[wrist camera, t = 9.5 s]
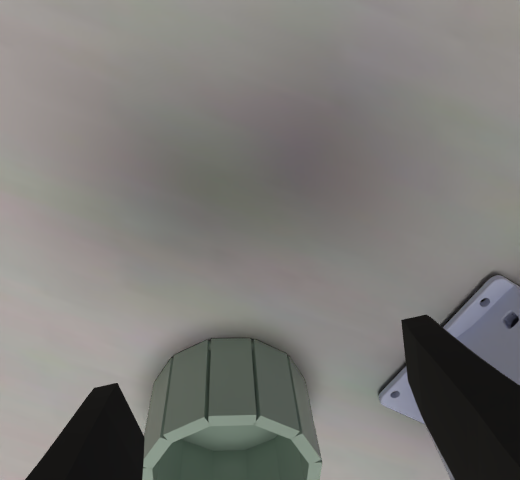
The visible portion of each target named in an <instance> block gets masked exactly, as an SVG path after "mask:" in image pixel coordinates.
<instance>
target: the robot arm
mask: <svg viewBox="0 0 520 480" xmlns="http://www.w3.org/2000/svg"><path fill="white" fill-rule="evenodd" d="M484 298H486V299H485V300H484V301H483V302H480V301H481V300H482V299H484ZM401 321H402V330H403V339H404V349H405V358H406V366H405V368H404V369H403V370H402V371H401V372H400V373H399V374H398V375H397V376H396V377H395V378H394V379H393V380H392V381H391V382H390V383H389V384H388V385H387V386H386V387H385V388H384V389H383V391H382V392H381V393H380V394H379V400H380V402H381V404H382V405H383V406H385V407H388V408H390V409H392V410H394V411H396V412H399V413H401V414H403V415H405V416H408V417H410V418H412V419H414V420H416V421H419V422H421V423H423V424H425V425H426V427H427V429H428V432H429V434H430V436H431V438H432V440H433V442H434V444H435V447H436V449H437V451H438V453H439V455H440V457H441V460H442V462H443V464H444V466H445V468H446V470H447V472H448V475H449V477H450V479H451V480H520V286H518V285H516V284H515V283H513V282H511V281H510V280H508V279H507V278H505V277H503V276H500V275H496V276H493V277H491V278H490V279H489V280H488V281H487V282H486V283H485V284H484V285H483V286H482V287H481V288H480V289H479V290H478V291H477V292H476V293H475V294H474V295H473V296H472V297H471V298H470V300H469V301H468V302H467V303H466V304H465V305H464V306H463V307H462V308H461V309H460V310H459V311H458V312H457V313H456V314H455V315H454V316H453V317H452V318H451V319H450V320H449V321H448V323H447V324H446V325H445V326H444V327H442V326H440V325H439V324H438V323H437V322H436V321H434V320H433V319H432V318H431V317H429V316H428V315H422V316H418V317H413V318H409V319H404V320H401ZM393 391H396V392H394V393H392V392H393ZM144 441H145V438H144V436H143V434H142V432H141V430H140V428H139V426H138V424H137V421H136V419H135V417H134V415H133V413H132V411H131V409H130V407H129V405H128V403H127V401H126V399H125V397H124V395H123V393H122V391H121V389H120V387H119V385H118V383H115V384H110V385H106V386H101V387H97V388H94V389H93V390H92V391H91V393H90V394H89V395H88V397H87V398H86V399H85V401H84V402H83V403H82V405H81V406H80V407H79V409H78V410H77V412H76V413H75V414H74V416H73V417H72V418H71V420H70V421H69V423H68V424H67V425H66V427H65V428H64V429H63V431H62V432H61V434H60V435H59V436H58V438H57V439H56V440H55V442H54V443H53V444H52V446H51V447H50V448H49V450H48V451H47V452H46V454H45V455H44V456H43V458H42V459H41V460H40V462H39V463H38V464H37V466H36V467H35V468H34V469H33V470H32V472H31V473H30V474H29V475H28V477H27V478H26V479H25V480H142V476H143V462H144Z"/></svg>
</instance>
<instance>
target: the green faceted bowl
mask: <svg viewBox="0 0 520 480" xmlns="http://www.w3.org/2000/svg"><path fill="white" fill-rule="evenodd" d="M144 438H145V441H144V462H143V476H142V480H320V474H321V467H322V459H321V454H320V450H319V445H318V440H317V435H316V430H315V426H314V421H313V416H312V411H311V406H310V402H309V397H308V392H307V387H306V383H305V379H304V378H303V376H302V375H301V373H300V372H299V370H298V369H297V367H296V366H295V364H294V363H293V361H292V360H291V358H290V357H289V356H287V354H286V353H284V352H282V351H280V350H277V349H275V348H273V347H271V346H269V345H266V344H264V343H262V342H260V341H258V340H255V339H254V340H253V341H252V340H251V338H221V339H211V341H208V339H207V340H205V341H203V342H201V343H199V344H197V345H195V346H193V347H190V348H188V349H186V350H184V351H182V352H180V353H178V354H176V355H174V358H172V357H171V359H170V360H169V362H168V363H167V365H166V366H165V368H164V369H163V370H162V372H161V373H160V375H159V376H158V378H157V379H156V381H155V382H154V385H153V390H152V395H151V401H150V406H149V412H148V417H147V423H146V428H145V434H144Z"/></svg>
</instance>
